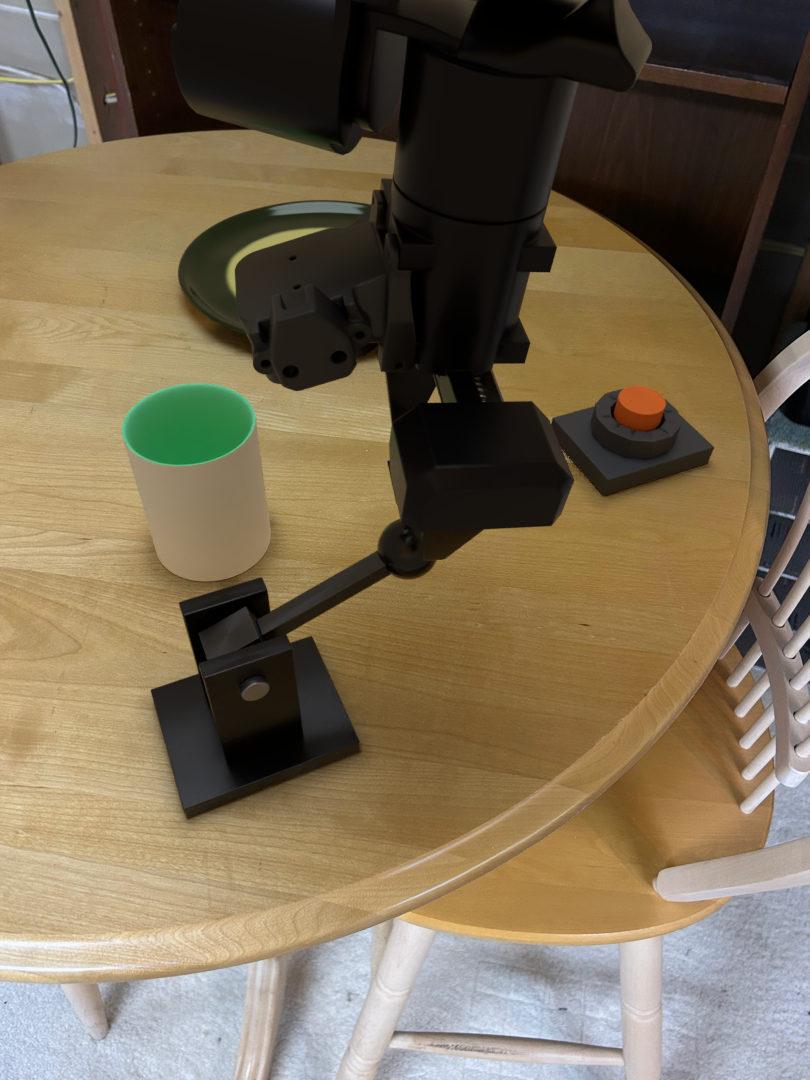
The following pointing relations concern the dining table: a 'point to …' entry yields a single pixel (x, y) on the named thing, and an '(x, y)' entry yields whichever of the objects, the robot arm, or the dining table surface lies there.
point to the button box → (628, 446)
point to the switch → (248, 709)
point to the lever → (322, 594)
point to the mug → (200, 479)
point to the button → (639, 408)
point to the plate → (250, 249)
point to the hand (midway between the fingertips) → (416, 487)
